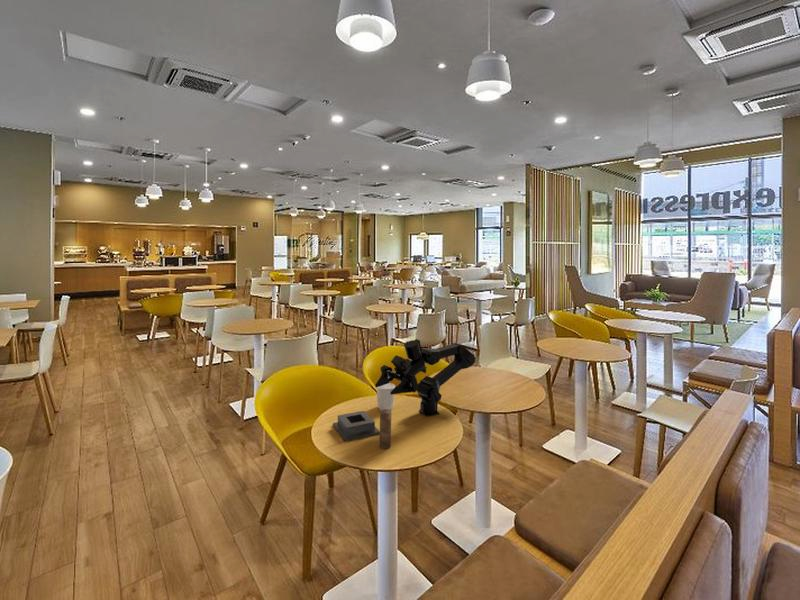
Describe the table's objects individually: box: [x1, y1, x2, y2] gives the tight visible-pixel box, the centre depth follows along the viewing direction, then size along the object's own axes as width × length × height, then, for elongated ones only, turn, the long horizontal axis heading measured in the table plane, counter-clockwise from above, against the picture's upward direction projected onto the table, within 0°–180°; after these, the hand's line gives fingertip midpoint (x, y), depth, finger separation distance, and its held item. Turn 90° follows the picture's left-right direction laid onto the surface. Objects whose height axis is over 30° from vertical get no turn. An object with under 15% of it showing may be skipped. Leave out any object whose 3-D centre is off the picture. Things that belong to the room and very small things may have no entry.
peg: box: [379, 409, 392, 450], centre depth 146 cm, size 4×4×13 cm
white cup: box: [376, 382, 396, 411], centre depth 179 cm, size 8×8×10 cm
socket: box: [332, 410, 380, 442], centre depth 158 cm, size 14×14×4 cm
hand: (383, 389), depth 156 cm, fingers open, 9 cm apart
